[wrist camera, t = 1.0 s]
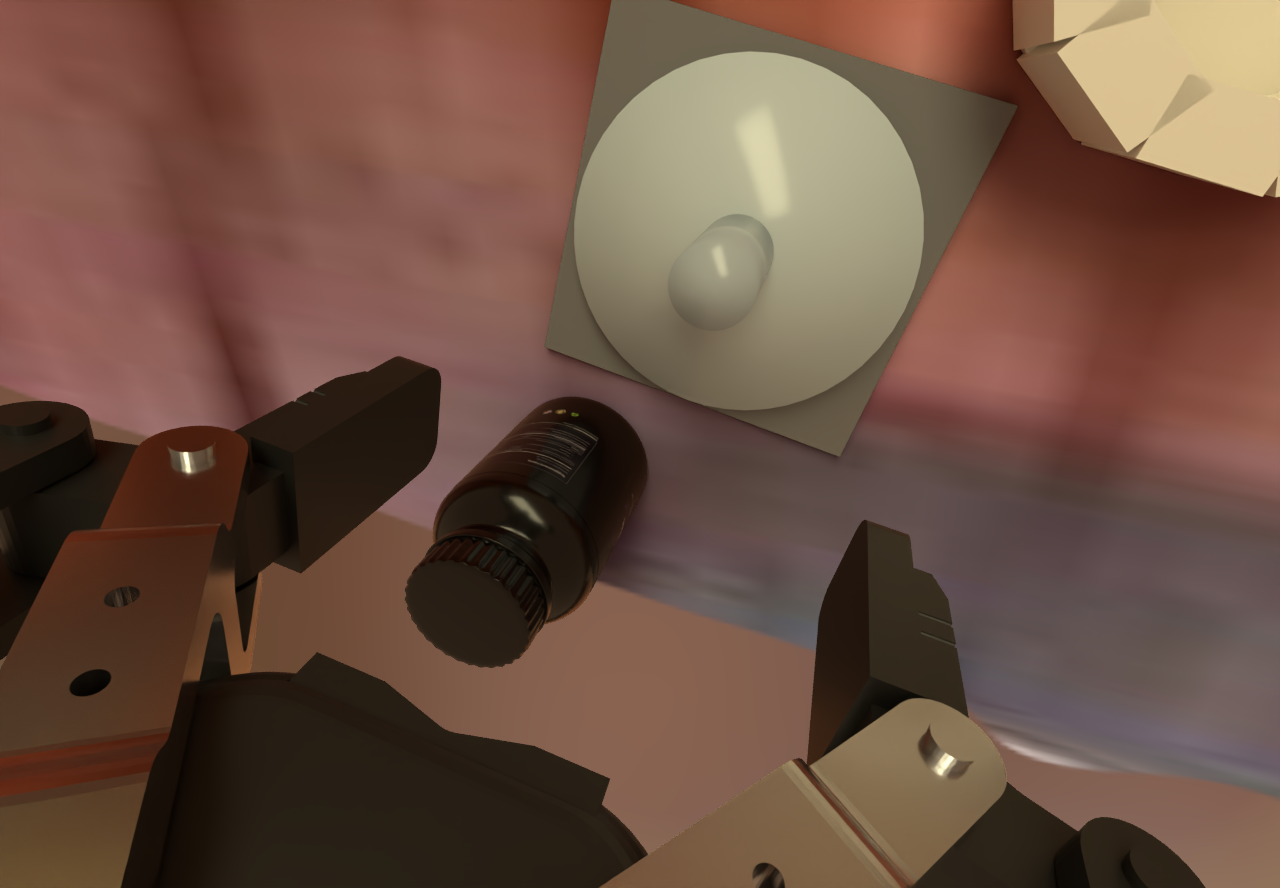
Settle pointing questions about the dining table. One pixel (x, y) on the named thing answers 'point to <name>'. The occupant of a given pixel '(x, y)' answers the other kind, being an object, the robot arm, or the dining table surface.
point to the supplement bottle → (527, 531)
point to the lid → (748, 230)
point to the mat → (915, 106)
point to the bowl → (1163, 82)
